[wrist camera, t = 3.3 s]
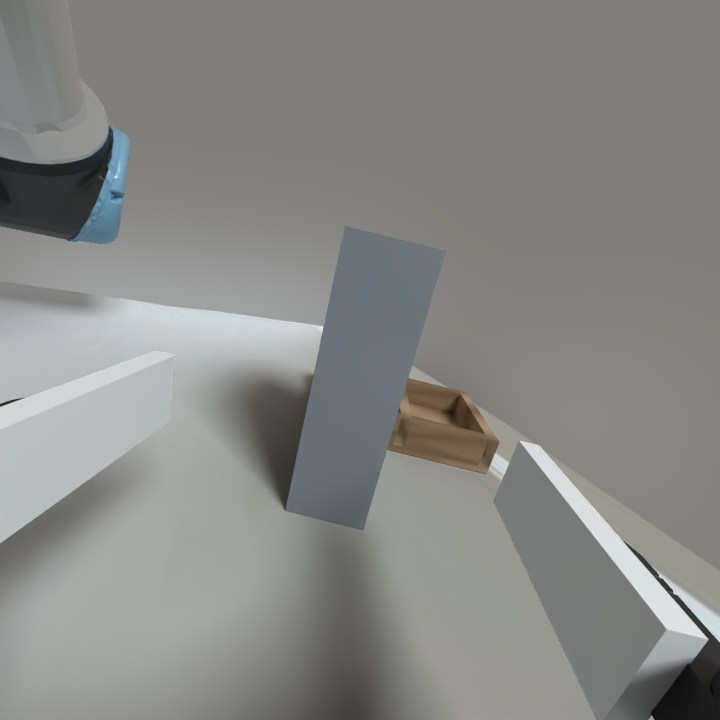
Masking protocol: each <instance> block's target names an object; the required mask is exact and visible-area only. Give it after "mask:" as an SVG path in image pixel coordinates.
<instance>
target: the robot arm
mask: <svg viewBox="0 0 720 720" xmlns="http://www.w3.org/2000/svg"><path fill="white" fill-rule="evenodd" d="M129 149H130V141H129V139H128V137H127V136H126V135H125V134H124V133H122V132H120V131H118V130H117V129H116V128H114V127H112V126H108V120H107V117H106V113H105V110H104V108H103V106H102V104H101V102H100V101H99V99H98V98H97V97H96V95H95V94H94V93H93V92H92V91H91V89H89V87H88V86H87V85H85V83H83V82H82V81H81V80H80V76H79V70H78V64H77V58H76V52H75V46H74V39H73V33H72V27H71V22H70V15H69V9H68V3H67V0H0V226H1V227H6V228H11V229H16V230H21V231H27V232H31V233H36V234H42V235H46V236H51V237H56V238H61V239H67V240H68V241H72V242H77V241H84V242H90V243H97V244H108V243H111V242H113V241H114V240H115V239H116V238H117V236H118V232H119V227H120V220H121V213H122V205H123V196H124V190H125V183H126V176H127V168H128V158H129ZM175 357H176V355H173V354H169V353H165V352H161V351H157V350H155V351H152V352H149V353H147V354H144V355H141V356H138V357H136V358H133V359H130V360H127V361H125V362H122V363H119V364H117V365H114V366H111V367H108V368H106V369H103V370H100V371H97V372H95V373H92V374H89V375H86V376H84V377H81V378H78V379H75V380H73V381H70V382H67V383H65V384H62V385H59V386H56V387H54V388H51V389H48V390H45V391H43V392H40V393H37V394H34V395H32V396H29V397H25V398H20V399H15V400H10V401H7V402H5V403H2V404H0V543H1V542H3V541H4V540H6V539H7V538H8V537H10V536H11V535H13V534H14V533H15V532H17V531H18V530H19V529H21V528H22V527H24V526H25V525H26V524H28V523H29V522H31V521H32V520H33V519H35V518H36V517H38V516H39V515H40V514H42V513H43V512H44V511H46V510H47V509H49V508H50V507H51V506H53V505H54V504H56V503H57V502H58V501H60V500H61V499H62V498H64V497H65V496H67V495H68V494H69V493H71V492H72V491H74V490H75V489H76V488H78V487H79V486H80V485H82V484H83V483H85V482H86V481H87V480H89V479H90V478H92V477H93V476H94V475H96V474H97V473H99V472H100V471H101V470H103V469H104V468H105V467H107V466H108V465H110V464H111V463H112V462H114V461H115V460H117V459H118V458H119V457H121V456H122V455H123V454H125V453H126V452H128V451H129V450H130V449H132V448H133V447H135V446H136V445H137V444H139V443H140V442H141V441H143V440H144V439H146V438H147V437H148V436H150V435H151V434H153V433H154V432H155V431H157V430H158V429H159V428H161V427H162V426H164V425H165V424H166V423H168V422H169V421H170V419H171V407H172V395H173V382H174V370H175ZM494 503H495V505H496V507H497V510H498V512H499V514H500V516H501V518H502V520H503V522H504V524H505V526H506V529H507V531H508V533H509V535H510V537H511V539H512V541H513V543H514V546H515V548H516V550H517V552H518V554H519V556H520V558H521V560H522V563H523V565H524V567H525V569H526V571H527V573H528V575H529V577H530V580H531V582H532V584H533V586H534V588H535V590H536V592H537V594H538V597H539V599H540V601H541V603H542V605H543V607H544V609H545V611H546V613H547V616H548V618H549V620H550V622H551V624H552V626H553V628H554V630H555V633H556V635H557V637H558V639H559V641H560V643H561V645H562V647H563V650H564V652H565V654H566V656H567V658H568V660H569V662H570V664H571V667H572V669H573V671H574V673H575V675H576V677H577V679H578V681H579V684H580V686H581V688H582V690H583V692H584V694H585V696H586V698H587V701H588V703H589V705H590V707H591V709H592V711H593V713H594V715H595V717H596V720H648V719H649V718H650V717H651V715H652V716H653V718H654V720H720V642H719V641H718V640H717V639H716V638H715V637H714V636H713V635H712V634H711V632H710V631H709V630H708V629H707V628H706V627H705V626H704V625H703V623H702V622H701V621H700V620H699V619H698V618H697V617H696V616H695V615H694V613H693V612H692V611H691V610H690V609H689V608H688V607H687V606H686V605H685V603H684V602H683V601H682V600H681V599H680V598H679V597H678V596H677V595H675V594H673V590H672V589H671V588H670V587H669V586H668V584H667V583H666V582H665V581H664V580H663V579H661V578H659V574H658V573H657V572H656V571H655V570H654V569H653V568H652V567H651V565H650V564H649V563H648V562H647V561H646V560H645V559H644V558H643V557H642V556H641V555H640V554H639V553H638V552H636V551H635V550H634V549H633V548H632V547H630V546H629V545H628V544H627V543H626V542H624V541H623V540H622V539H620V538H619V536H618V535H617V534H616V533H615V532H614V531H613V530H612V528H611V527H610V526H609V525H608V524H607V523H606V522H605V520H604V519H603V518H602V517H601V516H600V515H599V514H598V512H597V511H596V510H595V509H594V508H593V507H592V505H591V504H590V503H589V502H588V501H587V500H586V499H585V497H584V496H583V495H582V494H581V493H580V492H579V491H578V489H577V488H576V487H575V486H574V485H573V484H572V483H571V481H570V480H569V479H568V478H567V477H566V476H565V475H564V473H563V472H562V471H561V470H560V469H559V468H558V467H557V465H556V464H555V463H554V462H553V461H552V460H551V459H550V457H549V456H548V455H547V454H546V453H545V452H544V451H543V449H542V448H541V447H540V446H539V445H535V444H531V443H527V442H523V441H519V442H518V444H517V447H516V449H515V451H514V454H513V456H512V458H511V461H510V463H509V466H508V468H507V470H506V473H505V475H504V477H503V480H502V482H501V484H500V487H499V489H498V492H497V494H496V496H495V499H494Z"/></svg>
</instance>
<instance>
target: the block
mask: <svg viewBox="0 0 720 720" xmlns="http://www.w3.org/2000/svg"><path fill="white" fill-rule="evenodd" d="M445 253H446V251H444V250H440V249H436V248H432V247H428V246H424V245H420V244H416V243H412V242H408V241H404V240H400V239H396V238H392V237H387V236H384V235H379V234H375V233H372V232H368V231H363V230H360V229H355V228H351V227H348V226H345V228H344V233H343V238H342V243H341V248H340V252H339V257H338V261H337V266H336V271H335V276H334V281H333V285H332V290H331V295H330V300H329V304H328V310H327V314H326V319H325V324H324V328H323V333H322V338H321V343H320V347H319V352H318V357H317V362H316V366H315V371H314V376H313V381H312V386H311V390H310V395H309V400H308V405H307V409H306V414H305V419H304V424H303V428H302V433H301V438H300V443H299V448H298V452H297V457H296V462H295V467H294V471H293V476H292V481H291V486H290V491H289V495H288V500H287V505H286V510H285V511H289V512H293V513H297V514H301V515H305V516H309V517H313V518H317V519H321V520H325V521H329V522H333V523H337V524H341V525H345V526H349V527H353V528H357V529H362V530H363V528H364V525H365V522H366V518H367V515H368V512H369V508H370V505H371V501H372V498H373V495H374V491H375V488H376V485H377V481H378V478H379V475H380V471H381V468H382V464H383V461H384V458H385V454H386V451H387V448H388V444H389V441H390V438H391V434H392V431H393V427H394V424H395V421H396V417H397V414H398V411H399V407H400V404H401V401H402V397H403V394H404V390H405V387H406V384H407V380H408V377H409V374H410V370H411V367H412V364H413V360H414V357H415V353H416V350H417V347H418V343H419V340H420V337H421V333H422V330H423V327H424V323H425V320H426V316H427V313H428V310H429V306H430V303H431V299H432V296H433V293H434V289H435V286H436V283H437V279H438V276H439V273H440V269H441V266H442V262H443V259H444V256H445Z"/></svg>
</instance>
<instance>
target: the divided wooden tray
mask: <svg viewBox="0 0 720 720" xmlns="http://www.w3.org/2000/svg"><path fill="white" fill-rule="evenodd" d="M498 444H499V441H498V439H497V438H496V436H495V435H494V433H493V432H492V430H491V429H490V427H489V426H488V424H487V423H486V421H485V420H484V418H483V417H482V415H481V414H480V412H479V411H478V409H477V408H476V406H475V405H474V403H473V402H472V400H471V399H470V397H469V396H468V394H467V393H465V392H461V391H457V390H453V389H449V388H445V387H441V386H437V385H433V384H429V383H425V382H421V381H417V380H413V379H409V378H408V380H407V384H406V387H405V390H404V394H403V397H402V401H401V404H400V407H399V411H398V414H397V417H396V421H395V424H394V427H393V431H392V434H391V438H390V441H389V444H388V448H387V449H388V450H392V451H396V452H400V453H404V454H408V455H412V456H416V457H420V458H424V459H428V460H432V461H436V462H440V463H444V464H448V465H452V466H456V467H460V468H464V469H469V470H473V471H477V472H481V473H485V474H487V471H488V469H489V467H490V464H491V462H492V459H493V457H494V454H495V452H496V449H497V447H498Z"/></svg>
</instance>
